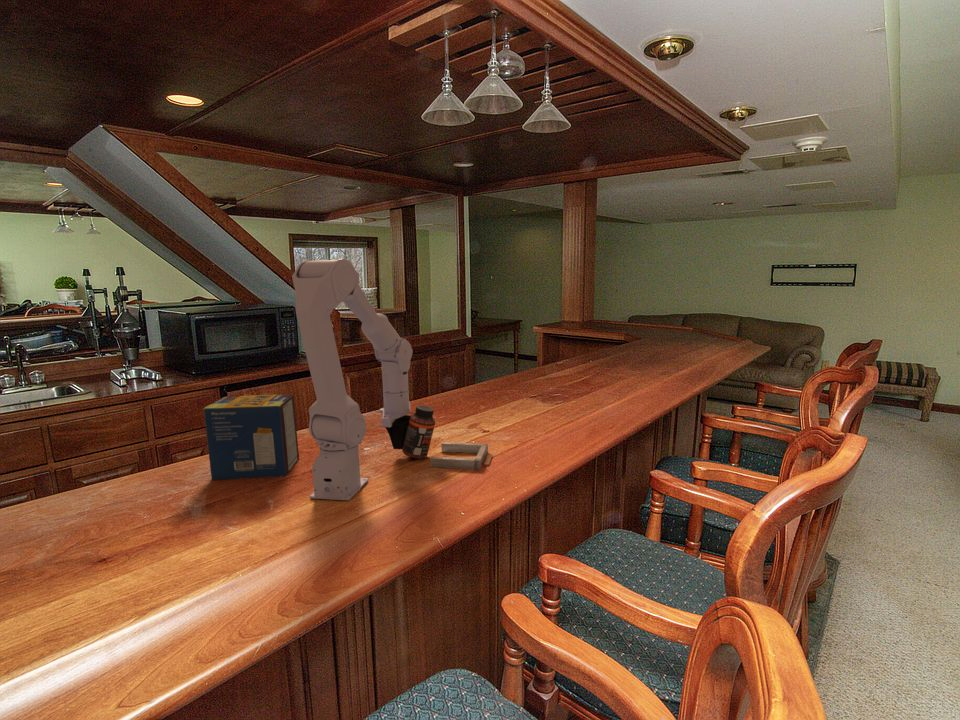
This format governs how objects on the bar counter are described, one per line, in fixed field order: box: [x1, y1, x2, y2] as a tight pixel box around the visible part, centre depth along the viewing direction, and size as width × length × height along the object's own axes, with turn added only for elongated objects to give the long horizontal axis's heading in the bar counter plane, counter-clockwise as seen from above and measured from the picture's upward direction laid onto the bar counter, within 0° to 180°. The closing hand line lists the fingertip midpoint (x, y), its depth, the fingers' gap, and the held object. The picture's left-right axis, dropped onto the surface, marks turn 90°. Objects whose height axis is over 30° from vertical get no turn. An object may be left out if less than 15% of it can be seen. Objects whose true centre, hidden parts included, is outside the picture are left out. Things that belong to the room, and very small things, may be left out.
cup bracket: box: [430, 441, 494, 471], centre depth 111 cm, size 11×12×2 cm
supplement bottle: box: [401, 404, 436, 460], centre depth 112 cm, size 6×6×11 cm
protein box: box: [202, 393, 300, 481], centre depth 107 cm, size 10×15×16 cm
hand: (398, 448), depth 114 cm, fingers closed, pressing on supplement bottle
